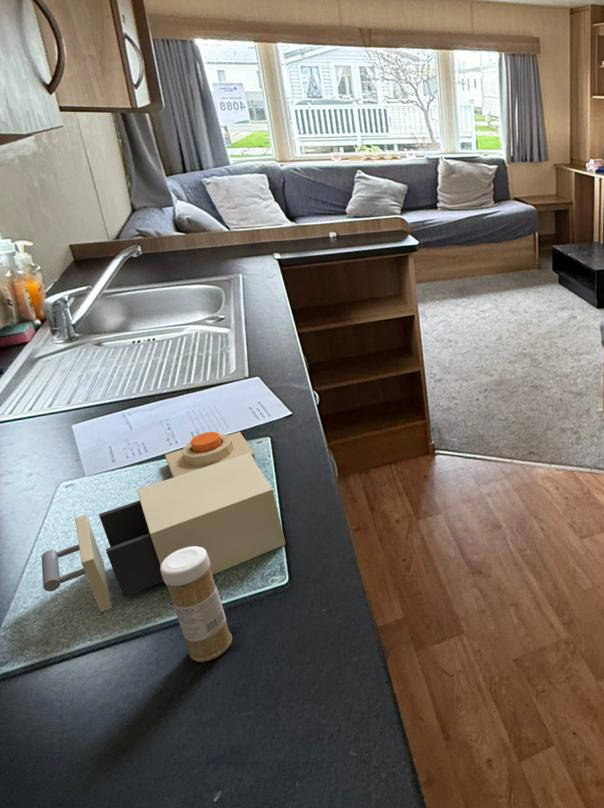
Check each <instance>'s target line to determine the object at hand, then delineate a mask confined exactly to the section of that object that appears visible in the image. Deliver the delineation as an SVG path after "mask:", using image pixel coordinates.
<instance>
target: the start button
mask: <svg viewBox="0 0 604 808" xmlns="http://www.w3.org/2000/svg"><path fill="white" fill-rule="evenodd" d="M220 434H221V433H219V432H216V431H207V432H203V433H200V434H197V435H195V436H194V437H193V438H191V440H190V442H191V445H192V449H193V452H195V453H203V452H208V451H212V450H215V449H216V448H218V447H220V446H221V445H222V442H221V438H220Z"/></svg>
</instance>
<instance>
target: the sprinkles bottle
mask: <svg viewBox="0 0 604 808" xmlns="http://www.w3.org/2000/svg"><path fill="white" fill-rule="evenodd" d="M160 571H161V574H162V577H163V580H164V581H163V583H164V584H165V585H166V587H167V586H168V587H167V589H169V590H168V592H169V594H170V597H171V602H172V606H173V608H174V612H175V614H176V617H177V620H178V624H179V626H180V630H181V632H182V635H183V637H184V639H185V642H186V645H187V648H188V650H189V652H188V654H189V658H190V659H192V660H193V661H194V662H197V663H198V662H199V663H204V662H208V661H212V660H214V659H217V658H219V657H220V656H221V655H223V654H224V653H225V652H226V651H227V650H228V649H229V648H230V646H231V645H232V641H233V635H232V633H231V631H230V630H229V626H228V622H227V618H226V613H225V610H224V607H223V603H222V600H221V596H220V593H219V591H218V587H217V585H216V583H215V580H214V576H213V575H212V573H211V570H210V560H209V557H208V554H207V552H206V550H205V549H204V548H202V547H198V546H193V547H186V548H183V549H180V550H178V551H176V552H174V553H172V554H170V555H169V556H168V557H167V558H165V559H164V561H163V562H162V564H161V566H160Z"/></svg>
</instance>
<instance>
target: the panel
mask: <svg viewBox="0 0 604 808" xmlns="http://www.w3.org/2000/svg"><path fill="white" fill-rule="evenodd" d="M219 434H220V438H221V442H222V445H221V446H220V447H218V448H216V449H215V450H212V451H208V452H203V453H195V452H193V449H192V445H191V441H190V442H188V443H186V444H185V446H184V447H183V448H182V449H178V450H175V451H172V452H169V453H166V454H164V457H165V459H166V460H165V461H166V463H167V467H168V469H169V471H170V474H171V476H172V478H173V477H177V476H180V475H183V474H186V473H189V472H192V471H195V470H198V469H201V468H204V467H207V466H210V465H213V464H216V463H219V462H222V461H226V460H229V459H232V458H235V457H238V456H241V455H244V454H247V453H250V454H251V456H252V458H253V459H254V461H255V462H256V464H257V465H258V463H257V460H256V455H255V453H254V451H253V449H252V448H251V446H250V444H248V442H247V440H246V438H245V437H244V436H243V434H242V432H241V431H237V432H234V433H231V434H228V435H227V434H222V433H219Z"/></svg>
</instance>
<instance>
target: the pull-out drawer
mask: <svg viewBox="0 0 604 808" xmlns="http://www.w3.org/2000/svg"><path fill="white" fill-rule="evenodd" d="M98 517H99V520H100V522H101V525H102V529H103V530H104V534H105V536H106V539H107V542H108V544H109V547H108V548H106V549H105V552H106V555H107V558H108V560H109V563H110V566H111V568H112V571H113V574H114V576H115V580H116V583H117V585H118V588H119V590H120V593H121V596H122V597H123V598H126V597H128V596H130V595H133V594H135V593H137V592H140V591H142V590H143V591H144V590H145V589H148V588H150V587H152V586H155V585H157V584H160V583H162V582H164V580H163V577H162V574H161V571H160V566H161V565H160V562H159V559H158V556H157V553H156V550H155V547H154V544H153V541H152V538H151V535H150V532H149V529H148V525H147V522H146V519H145V515H144V512H143V509H142V505H141V502H140V499H139V500H137V501H134V502H130V503H128V504H124V505H121V506H119V507H116V508H113V509H109V510H107V511H104V512H100V513H99V514H98ZM74 520H75V526H76V534H77V540H78V544H76V545H73V546H70V547H67V548H64V549H62V550H58V551H56V550H54V549H53V550H47V551H44V553H42V555H41V569H42V570H41V571H42V573H41V574H42V588H43V590H44V591H46V592H54V591H56V590H59V588H60V587H61V584H63V583H65V582H69V581H71V580H73V579H76V578H79V577H82V576H84V575H85V576H86V578H87V581H88V583H89V586H90V589H91V592H92V594H93V597H94V599H95V602H96V604H97V607H98V609H99V612H100V613H102V612H104V611H106V610H107V611H108V610H109V609H112V607H113V606H112V600H111V595H110V590H109V583H108V578H107V573H106V567H105V563H104V558H103V556H102V552H101V551H100V547H99V545H98V542H97V540H96V537H95V534H94V532H93V529H92V527H91V526H92V525H91V524H90V521H89V518H88V516H87V514H83V515H80V516H77V517H75V518H74ZM76 552H79V554H80V555H79V556H80V561H81V566H82V568H80V569H78V570H74V571H72V572H69V573H66V574H63V575H60V563H59V558H62V557H65V556H68V555H70V554H73V553H76Z"/></svg>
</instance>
